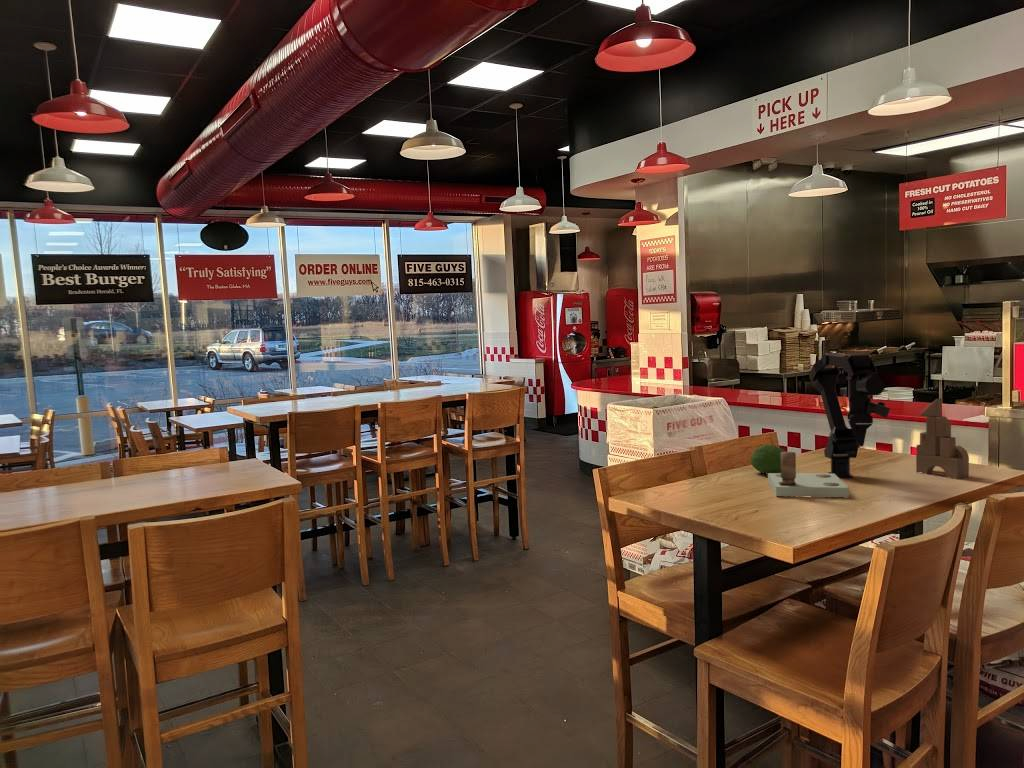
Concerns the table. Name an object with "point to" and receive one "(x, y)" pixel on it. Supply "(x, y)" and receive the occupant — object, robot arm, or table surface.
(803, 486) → the seat board
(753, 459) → the fruit
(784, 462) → the stool leg
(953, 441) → the wooden toy
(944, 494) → the table surface
